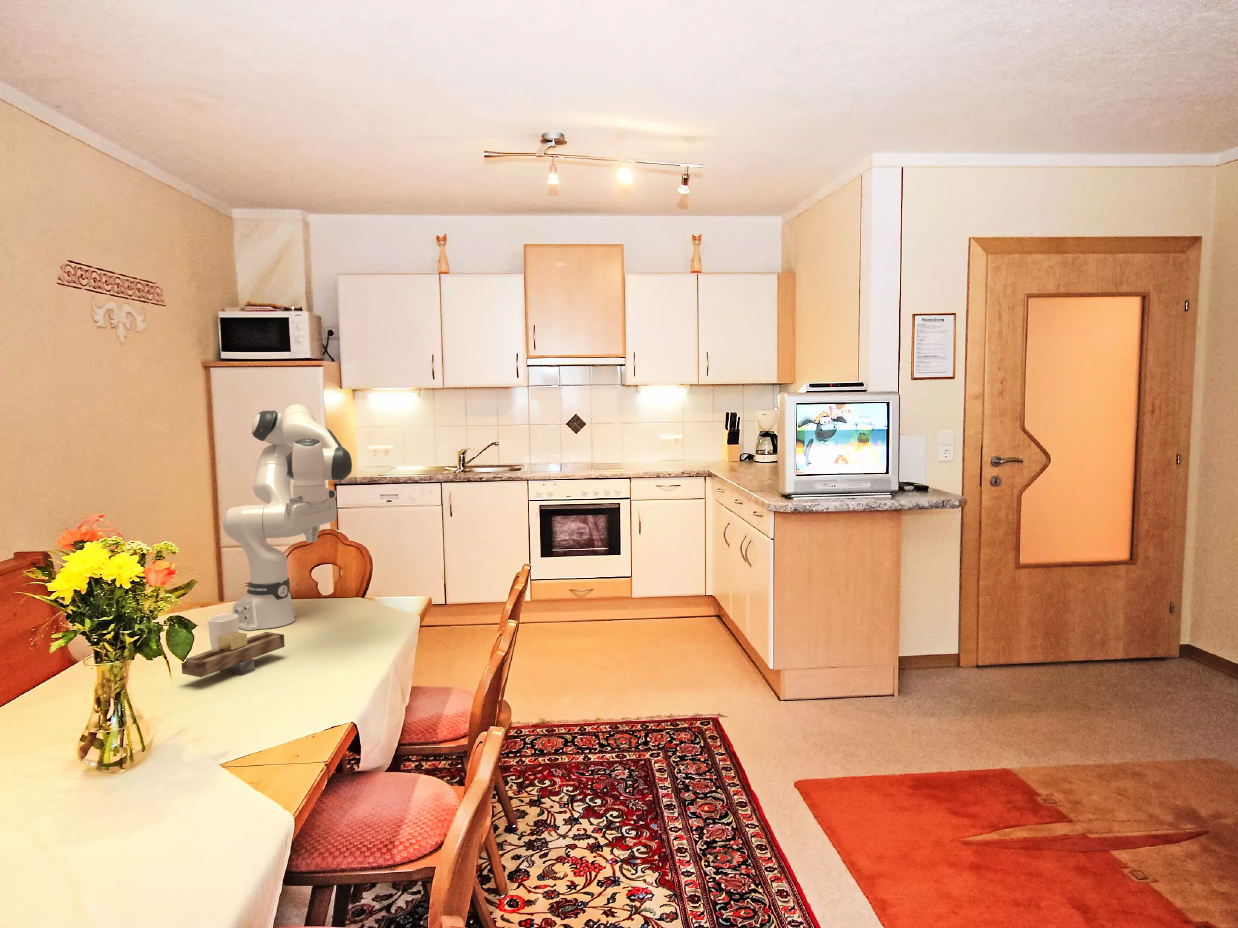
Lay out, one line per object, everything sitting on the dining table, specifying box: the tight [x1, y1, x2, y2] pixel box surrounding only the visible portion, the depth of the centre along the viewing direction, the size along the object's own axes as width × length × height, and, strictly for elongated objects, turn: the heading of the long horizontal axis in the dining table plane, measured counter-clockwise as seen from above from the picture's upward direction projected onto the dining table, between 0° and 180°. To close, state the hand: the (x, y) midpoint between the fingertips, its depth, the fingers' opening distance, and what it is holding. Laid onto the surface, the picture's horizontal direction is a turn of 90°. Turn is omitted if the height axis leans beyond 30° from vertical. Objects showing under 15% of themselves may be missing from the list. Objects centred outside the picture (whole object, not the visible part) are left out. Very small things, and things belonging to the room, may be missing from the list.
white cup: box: [207, 613, 240, 650], centre depth 221 cm, size 8×8×10 cm
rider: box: [217, 631, 248, 653], centre depth 204 cm, size 5×5×5 cm
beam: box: [181, 631, 286, 678], centre depth 205 cm, size 26×9×7 cm, turn 156°
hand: (311, 541), depth 223 cm, fingers closed
